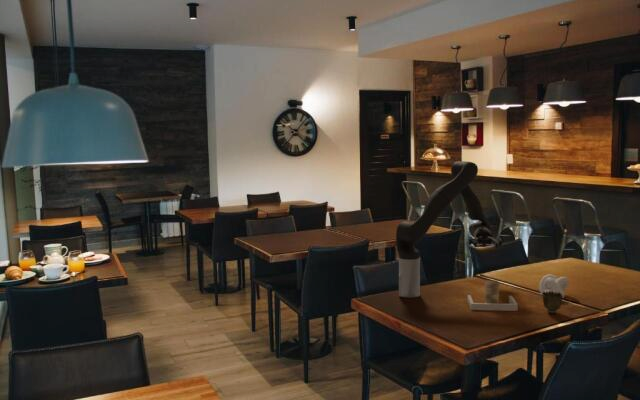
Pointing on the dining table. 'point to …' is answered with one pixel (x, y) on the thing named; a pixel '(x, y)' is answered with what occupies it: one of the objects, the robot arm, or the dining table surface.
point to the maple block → (491, 291)
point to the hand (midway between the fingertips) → (486, 245)
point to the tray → (493, 305)
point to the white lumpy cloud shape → (553, 284)
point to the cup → (552, 301)
